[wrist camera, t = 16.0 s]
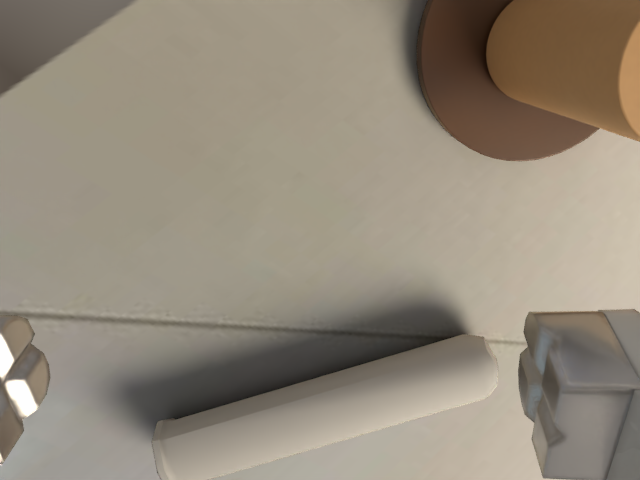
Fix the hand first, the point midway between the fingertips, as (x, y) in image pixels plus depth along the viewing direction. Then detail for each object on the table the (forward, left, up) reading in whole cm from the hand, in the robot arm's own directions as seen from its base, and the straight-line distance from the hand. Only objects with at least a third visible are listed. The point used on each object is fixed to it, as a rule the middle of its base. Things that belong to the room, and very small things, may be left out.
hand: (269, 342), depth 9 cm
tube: (+21, -5, -28) cm, 35 cm away
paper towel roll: (+3, +16, -26) cm, 31 cm away
